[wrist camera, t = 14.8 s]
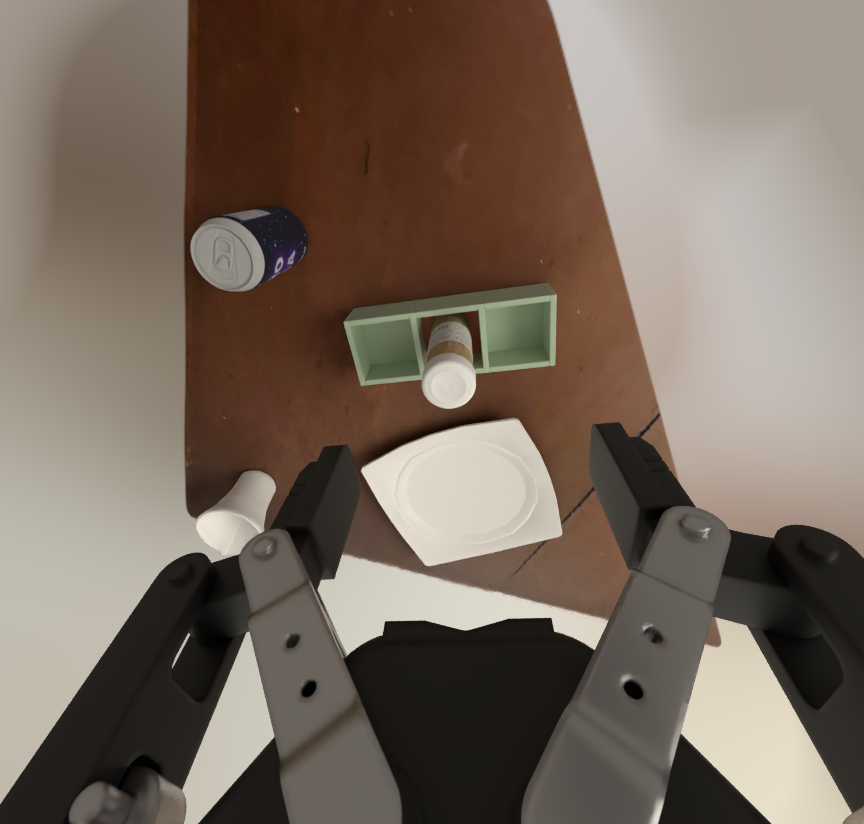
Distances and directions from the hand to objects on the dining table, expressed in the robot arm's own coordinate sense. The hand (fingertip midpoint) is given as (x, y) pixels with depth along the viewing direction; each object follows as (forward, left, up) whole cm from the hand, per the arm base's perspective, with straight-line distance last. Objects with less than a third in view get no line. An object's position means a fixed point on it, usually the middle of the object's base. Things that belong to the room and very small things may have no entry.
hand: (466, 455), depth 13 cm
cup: (+34, +28, -32) cm, 55 cm away
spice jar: (+2, +7, -31) cm, 32 cm away
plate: (+3, +32, -32) cm, 45 cm away
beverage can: (+18, -5, -32) cm, 37 cm away
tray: (+2, +7, -32) cm, 33 cm away
